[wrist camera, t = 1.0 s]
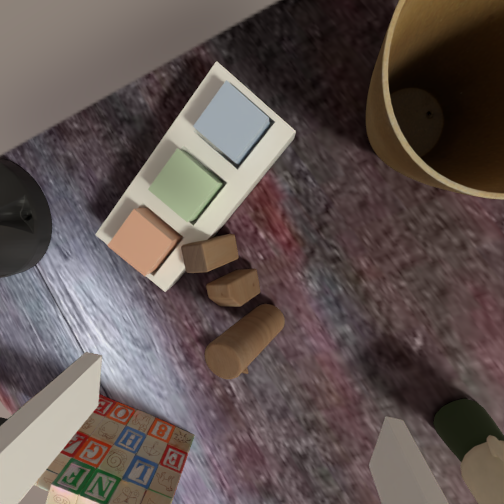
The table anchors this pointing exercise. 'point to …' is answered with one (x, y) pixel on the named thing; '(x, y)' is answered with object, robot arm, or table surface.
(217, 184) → the sage key
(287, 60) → the table surface
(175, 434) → the stack of blocks
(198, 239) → the key console
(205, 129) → the blue key
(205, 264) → the wooden block set
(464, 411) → the character mug
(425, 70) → the plant pot
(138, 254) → the terracotta key
